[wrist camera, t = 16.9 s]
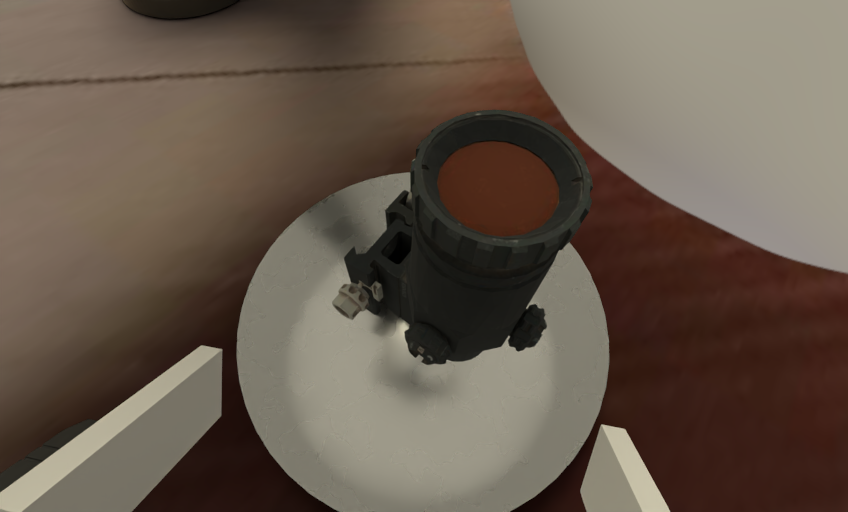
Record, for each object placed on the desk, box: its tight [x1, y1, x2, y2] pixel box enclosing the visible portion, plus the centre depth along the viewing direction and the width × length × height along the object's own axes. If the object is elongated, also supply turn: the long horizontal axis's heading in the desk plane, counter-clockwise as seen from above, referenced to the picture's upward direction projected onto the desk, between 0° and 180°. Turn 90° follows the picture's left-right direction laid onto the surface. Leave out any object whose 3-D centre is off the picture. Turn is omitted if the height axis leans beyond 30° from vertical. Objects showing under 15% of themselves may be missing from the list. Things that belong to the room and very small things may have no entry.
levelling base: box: [237, 173, 609, 512], centre depth 26 cm, size 22×22×4 cm
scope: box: [332, 110, 593, 365], centre depth 18 cm, size 8×14×10 cm
